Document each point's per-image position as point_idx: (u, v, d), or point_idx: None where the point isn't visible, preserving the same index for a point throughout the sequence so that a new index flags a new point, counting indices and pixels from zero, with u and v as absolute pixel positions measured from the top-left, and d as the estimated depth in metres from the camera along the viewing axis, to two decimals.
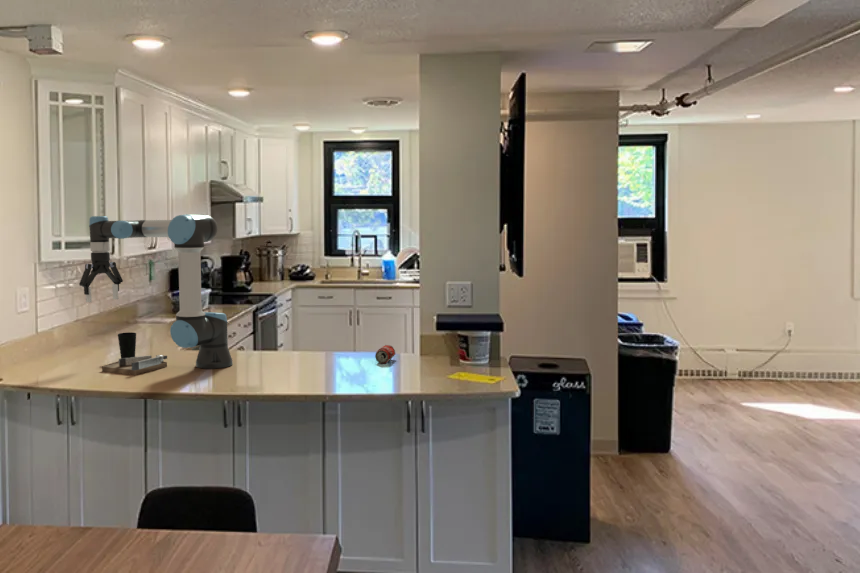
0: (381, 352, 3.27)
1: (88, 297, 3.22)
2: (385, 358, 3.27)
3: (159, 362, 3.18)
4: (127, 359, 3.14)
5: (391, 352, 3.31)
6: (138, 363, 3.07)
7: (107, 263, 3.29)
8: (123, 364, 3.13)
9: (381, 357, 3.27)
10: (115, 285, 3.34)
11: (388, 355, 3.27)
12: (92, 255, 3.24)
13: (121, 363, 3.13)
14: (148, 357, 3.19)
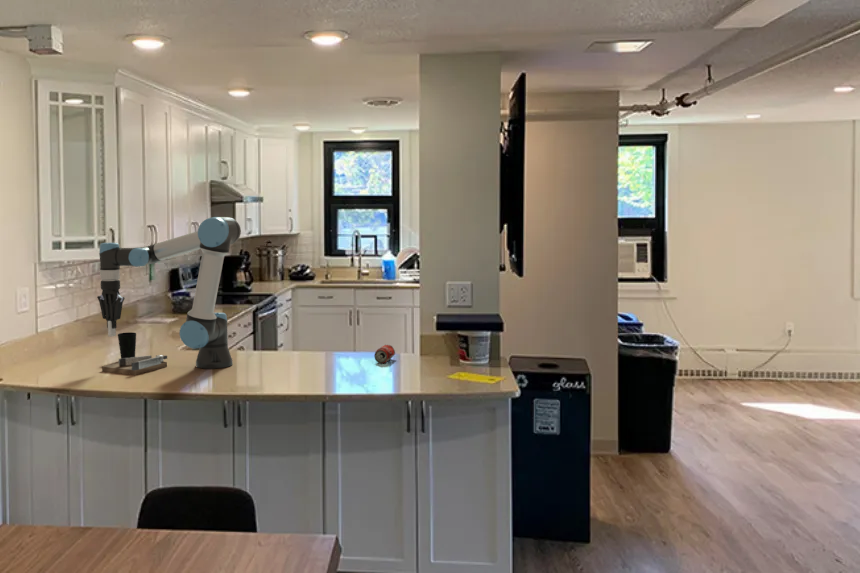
0: (380, 352, 3.27)
1: None
2: (384, 358, 3.27)
3: (159, 362, 3.18)
4: (127, 359, 3.14)
5: (390, 352, 3.32)
6: (138, 363, 3.07)
7: (113, 292, 3.12)
8: (123, 364, 3.13)
9: (380, 357, 3.27)
10: None
11: (387, 355, 3.27)
12: None
13: (121, 363, 3.13)
14: (148, 357, 3.19)
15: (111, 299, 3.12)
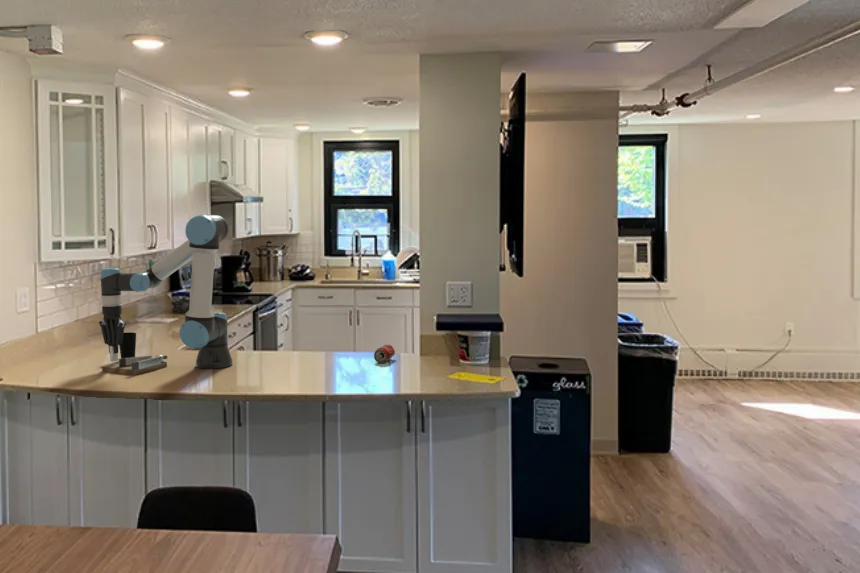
0: (379, 352, 3.27)
1: None
2: (383, 358, 3.27)
3: (159, 362, 3.18)
4: (127, 359, 3.14)
5: (390, 352, 3.32)
6: (138, 363, 3.07)
7: (114, 318, 3.13)
8: (123, 364, 3.13)
9: (379, 357, 3.27)
10: None
11: (386, 355, 3.27)
12: None
13: (121, 363, 3.13)
14: (148, 357, 3.19)
15: (113, 324, 3.13)
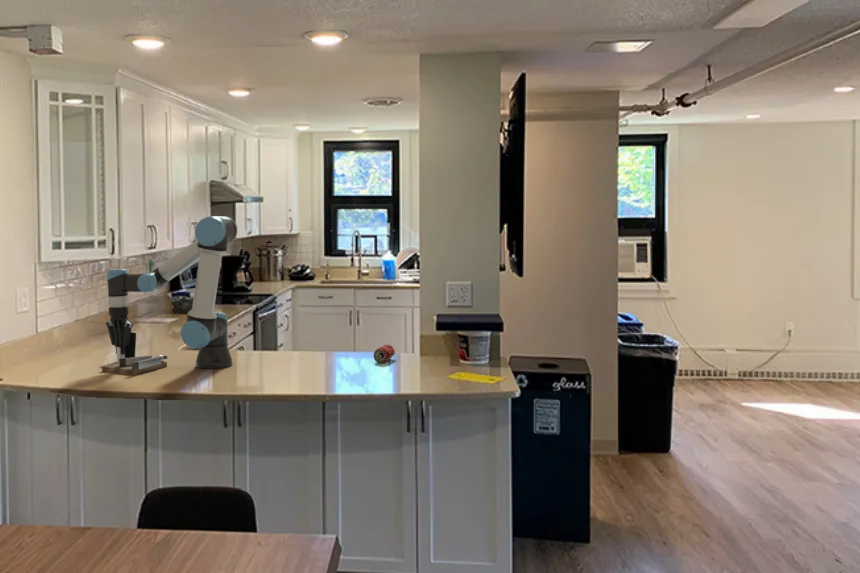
0: (379, 352, 3.28)
1: None
2: (383, 358, 3.28)
3: (159, 362, 3.18)
4: (127, 359, 3.14)
5: (390, 352, 3.32)
6: (138, 363, 3.07)
7: (121, 319, 3.12)
8: (123, 364, 3.13)
9: (379, 357, 3.28)
10: None
11: (386, 355, 3.27)
12: None
13: (121, 363, 3.13)
14: (148, 357, 3.19)
15: (120, 325, 3.12)
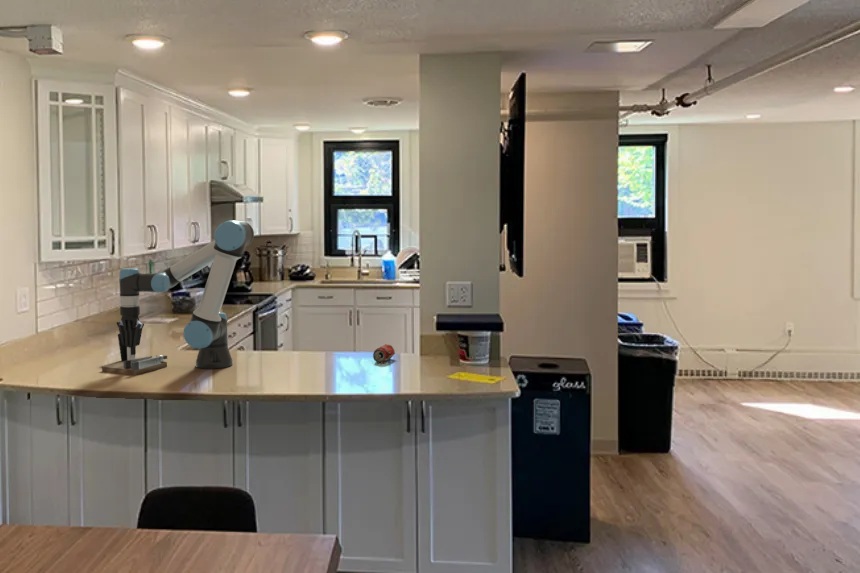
0: (378, 351, 3.28)
1: None
2: (382, 357, 3.28)
3: (159, 362, 3.18)
4: (131, 361, 3.11)
5: (389, 352, 3.32)
6: (138, 363, 3.07)
7: (132, 319, 3.09)
8: (128, 366, 3.09)
9: (378, 356, 3.28)
10: None
11: (385, 354, 3.28)
12: None
13: (127, 365, 3.09)
14: (149, 358, 3.18)
15: (131, 325, 3.09)
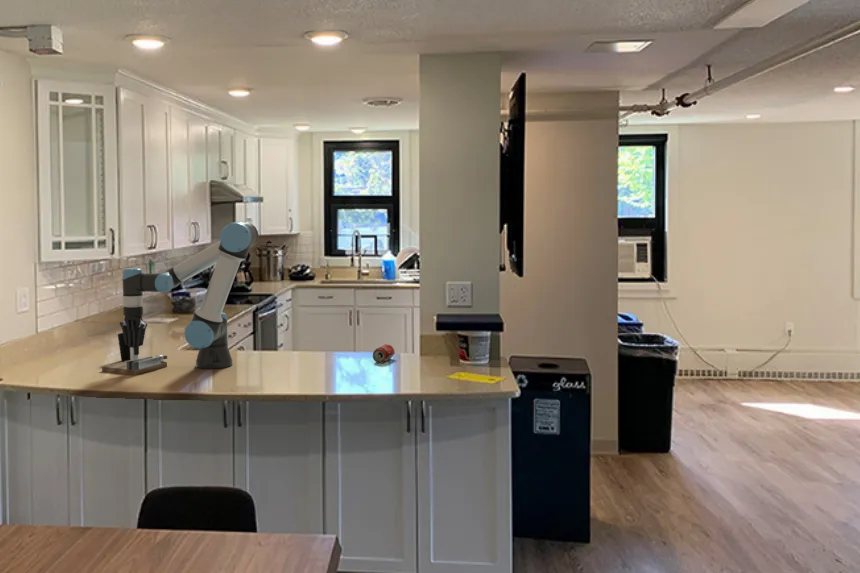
0: (378, 351, 3.28)
1: None
2: (382, 357, 3.28)
3: (159, 362, 3.18)
4: (134, 361, 3.10)
5: (389, 352, 3.32)
6: (138, 363, 3.07)
7: (136, 319, 3.08)
8: None
9: (378, 356, 3.28)
10: None
11: (385, 354, 3.28)
12: None
13: (130, 366, 3.08)
14: None
15: (134, 325, 3.08)
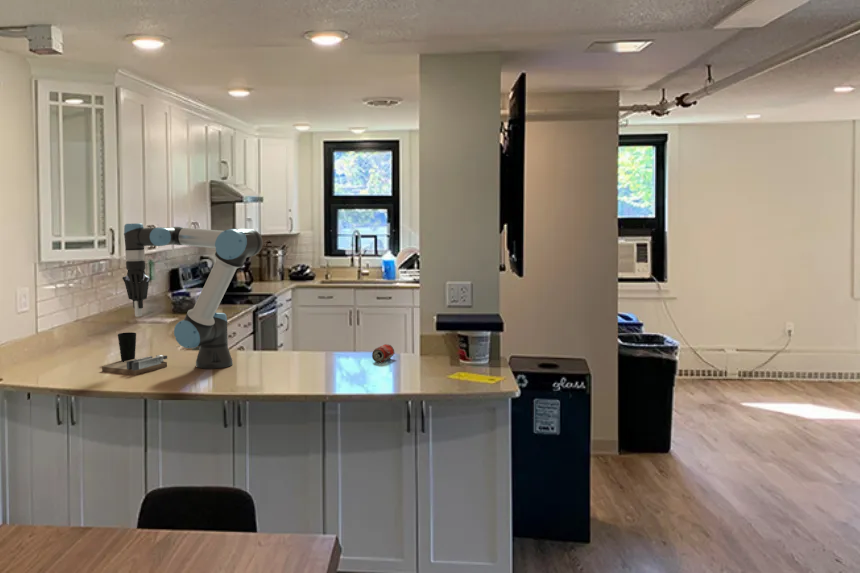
0: (377, 351, 3.29)
1: None
2: (381, 357, 3.28)
3: (159, 362, 3.18)
4: (134, 361, 3.10)
5: (388, 351, 3.33)
6: (138, 363, 3.07)
7: (139, 272, 3.15)
8: None
9: (377, 356, 3.29)
10: None
11: (384, 354, 3.28)
12: None
13: (130, 366, 3.08)
14: None
15: (137, 279, 3.15)
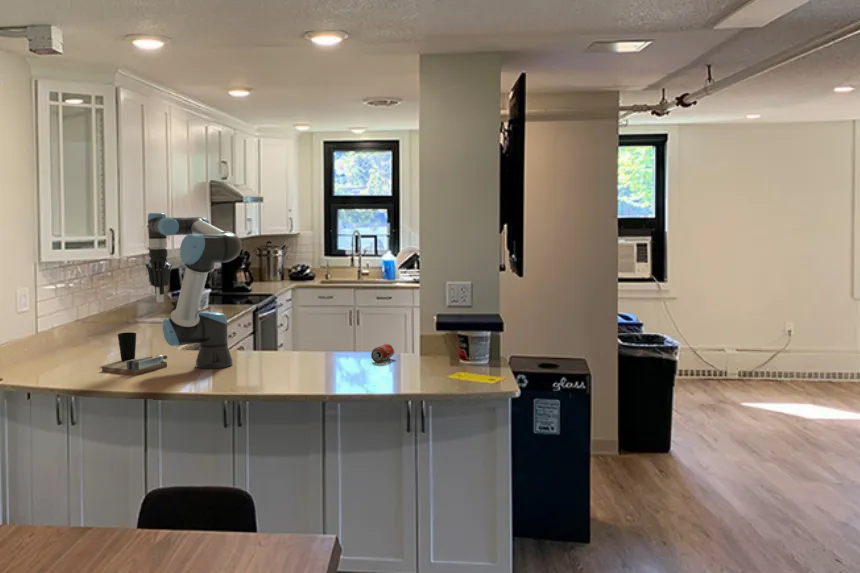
0: (376, 351, 3.29)
1: None
2: (380, 357, 3.29)
3: (159, 362, 3.18)
4: (134, 361, 3.10)
5: (388, 351, 3.33)
6: (138, 363, 3.07)
7: (161, 260, 3.29)
8: None
9: (376, 356, 3.29)
10: None
11: (383, 354, 3.29)
12: None
13: (130, 366, 3.08)
14: None
15: (159, 266, 3.29)
